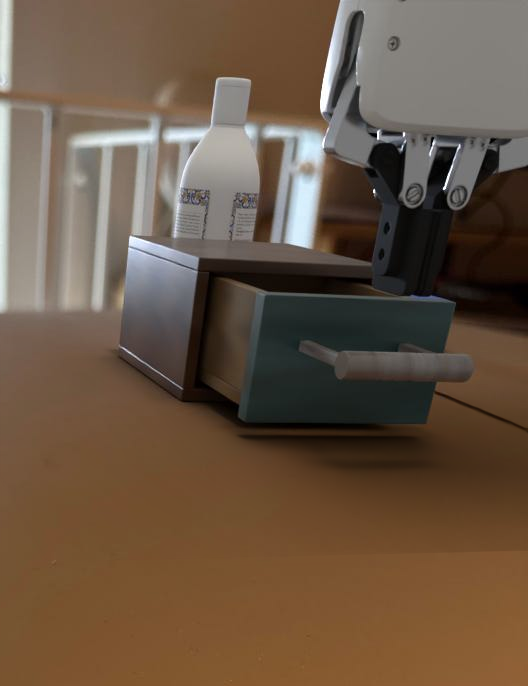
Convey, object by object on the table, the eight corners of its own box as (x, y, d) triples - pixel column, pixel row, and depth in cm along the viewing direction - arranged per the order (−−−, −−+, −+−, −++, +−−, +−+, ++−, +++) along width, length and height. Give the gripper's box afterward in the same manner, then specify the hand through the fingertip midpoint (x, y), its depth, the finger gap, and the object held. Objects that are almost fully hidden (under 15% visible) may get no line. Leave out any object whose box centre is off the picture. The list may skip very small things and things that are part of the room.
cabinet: (359, 403, 64) (388, 266, 60) (181, 401, 61) (199, 257, 57) (269, 359, 77) (288, 243, 73) (117, 355, 74) (129, 234, 70)
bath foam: (235, 324, 92) (271, 84, 83) (241, 336, 86) (280, 78, 77) (163, 318, 93) (190, 79, 83) (164, 329, 86) (194, 72, 77)
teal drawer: (488, 453, 51) (525, 320, 48) (290, 453, 48) (316, 312, 45) (320, 374, 68) (340, 271, 65) (167, 371, 65) (180, 264, 62)
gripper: (585, -125, 45) (484, 286, 54) (294, -163, 42) (235, 279, 51) (714, -166, 39) (576, 307, 47) (382, -216, 36) (298, 301, 44)
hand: (400, 292), depth 49 cm, fingers closed
